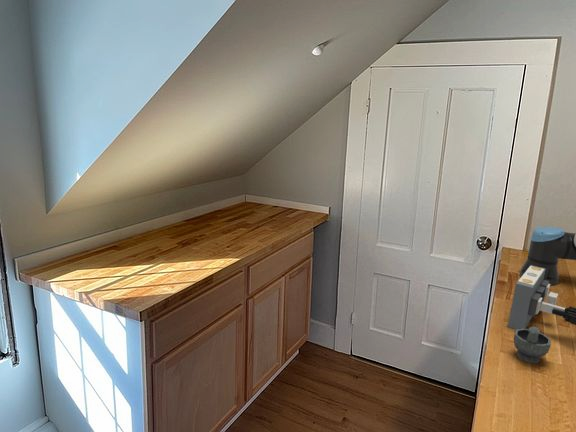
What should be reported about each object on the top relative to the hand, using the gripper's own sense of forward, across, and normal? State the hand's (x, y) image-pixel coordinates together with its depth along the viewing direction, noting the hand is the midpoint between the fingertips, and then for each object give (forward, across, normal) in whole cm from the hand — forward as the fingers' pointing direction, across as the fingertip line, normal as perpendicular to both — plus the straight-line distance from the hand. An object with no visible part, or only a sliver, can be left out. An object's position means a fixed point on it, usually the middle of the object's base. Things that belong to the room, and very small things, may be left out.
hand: (541, 306), depth 144 cm
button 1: (+2, 0, -2) cm, 3 cm away
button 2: (+2, +16, -2) cm, 16 cm away
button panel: (+6, +8, -9) cm, 13 cm away
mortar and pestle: (-1, -21, -9) cm, 23 cm away
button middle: (-2, +8, -2) cm, 9 cm away
